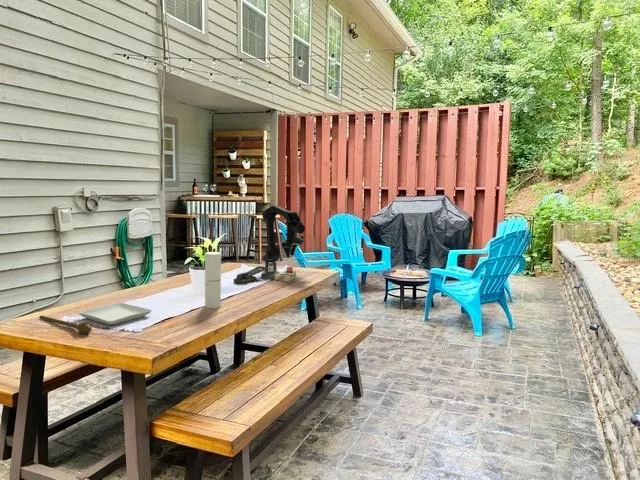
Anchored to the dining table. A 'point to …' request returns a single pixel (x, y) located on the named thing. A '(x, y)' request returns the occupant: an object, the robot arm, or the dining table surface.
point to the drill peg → (270, 267)
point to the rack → (284, 276)
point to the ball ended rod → (71, 324)
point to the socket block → (272, 276)
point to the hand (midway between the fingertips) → (290, 256)
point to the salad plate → (115, 313)
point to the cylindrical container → (212, 279)
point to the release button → (289, 269)
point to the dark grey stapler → (247, 278)
